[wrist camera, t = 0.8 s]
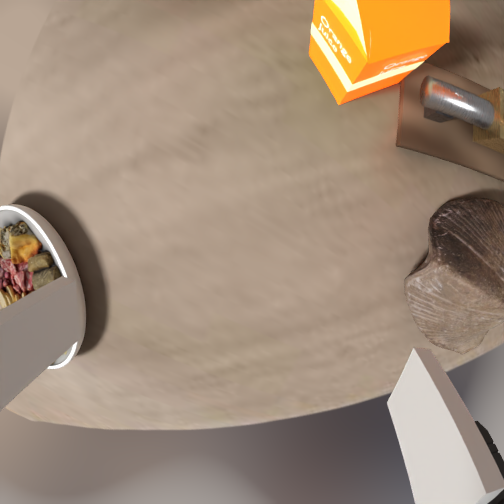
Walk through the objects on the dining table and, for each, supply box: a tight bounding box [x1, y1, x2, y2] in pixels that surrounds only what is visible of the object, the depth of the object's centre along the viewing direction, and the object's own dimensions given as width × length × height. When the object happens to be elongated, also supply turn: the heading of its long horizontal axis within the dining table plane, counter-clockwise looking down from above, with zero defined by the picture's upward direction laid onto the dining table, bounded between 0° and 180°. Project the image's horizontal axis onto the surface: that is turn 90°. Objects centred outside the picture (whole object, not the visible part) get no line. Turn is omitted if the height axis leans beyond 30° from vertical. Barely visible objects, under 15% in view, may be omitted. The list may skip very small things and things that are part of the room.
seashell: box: [404, 198, 504, 354], centre depth 29 cm, size 16×17×15 cm
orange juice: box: [309, 0, 450, 105], centre depth 20 cm, size 8×9×20 cm
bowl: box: [0, 204, 86, 369], centre depth 40 cm, size 30×30×8 cm
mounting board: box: [396, 62, 504, 182], centre depth 28 cm, size 12×26×2 cm, turn 83°
